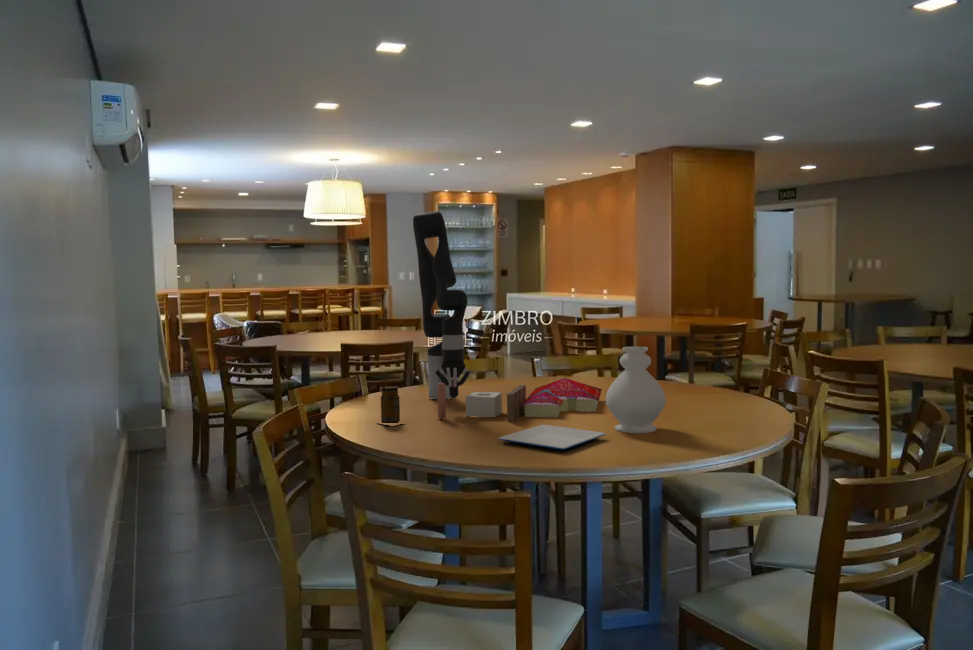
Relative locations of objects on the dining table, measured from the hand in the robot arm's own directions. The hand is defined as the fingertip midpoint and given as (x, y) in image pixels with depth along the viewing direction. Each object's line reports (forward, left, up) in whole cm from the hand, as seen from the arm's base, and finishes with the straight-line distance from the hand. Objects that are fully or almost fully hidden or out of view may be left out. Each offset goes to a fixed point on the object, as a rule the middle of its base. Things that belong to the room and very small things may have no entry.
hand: (453, 397), depth 253 cm
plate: (+36, +41, -6) cm, 54 cm away
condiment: (+20, -15, -6) cm, 26 cm away
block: (0, +11, -6) cm, 12 cm away
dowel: (+10, -1, -6) cm, 11 cm away
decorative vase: (+15, +63, -6) cm, 65 cm away
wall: (0, +22, -6) cm, 23 cm away
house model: (-18, +35, -6) cm, 40 cm away
